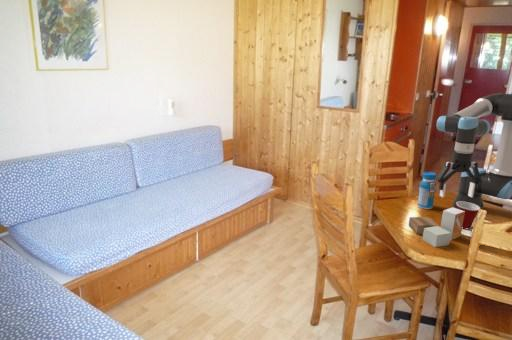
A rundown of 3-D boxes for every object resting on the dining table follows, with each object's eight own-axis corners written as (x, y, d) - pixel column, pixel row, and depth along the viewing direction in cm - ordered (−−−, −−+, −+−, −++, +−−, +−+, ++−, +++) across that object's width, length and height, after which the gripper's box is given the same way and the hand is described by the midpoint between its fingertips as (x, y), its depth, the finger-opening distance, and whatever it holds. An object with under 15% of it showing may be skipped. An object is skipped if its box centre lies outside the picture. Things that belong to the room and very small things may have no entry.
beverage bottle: (416, 208, 218) (421, 174, 213) (417, 203, 226) (421, 170, 220) (433, 210, 215) (438, 176, 209) (432, 205, 222) (437, 172, 217)
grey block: (436, 237, 182) (437, 225, 181) (449, 244, 175) (451, 232, 173) (422, 239, 180) (424, 228, 178) (435, 247, 172) (437, 235, 171)
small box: (451, 240, 179) (455, 214, 175) (438, 235, 184) (442, 210, 180) (461, 236, 183) (465, 211, 180) (448, 231, 188) (452, 206, 185)
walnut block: (428, 226, 195) (429, 217, 193) (437, 235, 185) (438, 225, 184) (408, 226, 195) (409, 217, 193) (416, 234, 185) (417, 225, 184)
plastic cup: (476, 233, 186) (480, 210, 183) (451, 228, 192) (455, 205, 189) (477, 225, 195) (481, 203, 192) (453, 221, 201) (457, 199, 198)
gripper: (440, 153, 168) (433, 199, 174) (495, 153, 169) (487, 199, 175) (432, 149, 175) (425, 193, 181) (485, 150, 176) (477, 193, 182)
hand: (456, 196), depth 178 cm, fingers open, 13 cm apart
